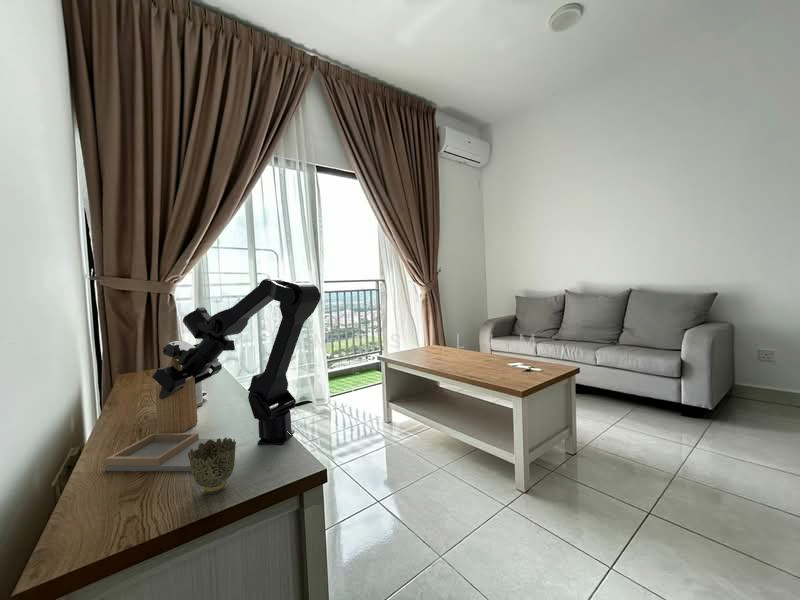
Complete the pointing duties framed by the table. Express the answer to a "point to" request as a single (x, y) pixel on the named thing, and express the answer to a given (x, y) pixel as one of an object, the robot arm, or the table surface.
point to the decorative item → (177, 406)
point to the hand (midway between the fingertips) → (171, 393)
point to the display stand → (157, 453)
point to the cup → (213, 464)
